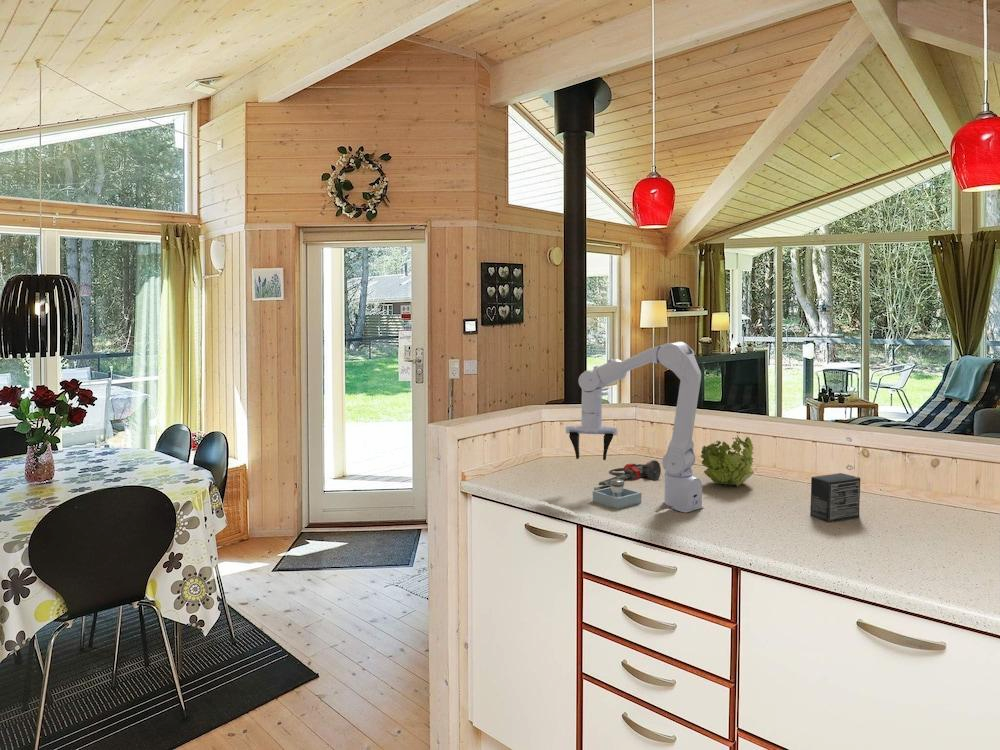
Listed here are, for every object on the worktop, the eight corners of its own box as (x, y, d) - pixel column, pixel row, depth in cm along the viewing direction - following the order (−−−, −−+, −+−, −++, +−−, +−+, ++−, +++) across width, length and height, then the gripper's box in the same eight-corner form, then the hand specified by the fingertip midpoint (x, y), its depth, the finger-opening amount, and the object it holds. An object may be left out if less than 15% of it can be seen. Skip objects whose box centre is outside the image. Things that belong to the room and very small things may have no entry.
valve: (631, 474, 226) (669, 476, 215) (579, 492, 209) (618, 495, 198) (629, 455, 226) (666, 456, 215) (576, 472, 209) (615, 473, 197)
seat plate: (623, 495, 193) (623, 488, 193) (608, 499, 190) (608, 492, 189) (607, 490, 198) (607, 484, 198) (593, 494, 194) (593, 487, 194)
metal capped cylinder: (626, 502, 184) (627, 481, 184) (618, 505, 182) (618, 483, 181) (615, 499, 187) (616, 478, 187) (607, 502, 185) (607, 480, 184)
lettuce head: (762, 479, 192) (718, 441, 194) (725, 507, 202) (683, 471, 204) (772, 447, 206) (731, 412, 208) (737, 475, 216) (698, 441, 217)
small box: (839, 511, 178) (841, 471, 177) (860, 518, 172) (862, 477, 171) (808, 515, 174) (810, 475, 173) (828, 523, 168) (830, 481, 167)
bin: (641, 505, 184) (641, 492, 183) (617, 511, 178) (617, 498, 178) (616, 497, 191) (616, 485, 191) (592, 503, 185) (592, 491, 185)
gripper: (618, 410, 196) (617, 456, 198) (568, 409, 200) (567, 454, 201) (616, 414, 190) (616, 462, 191) (564, 412, 193) (564, 459, 194)
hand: (591, 458), depth 196 cm, fingers open, 7 cm apart
